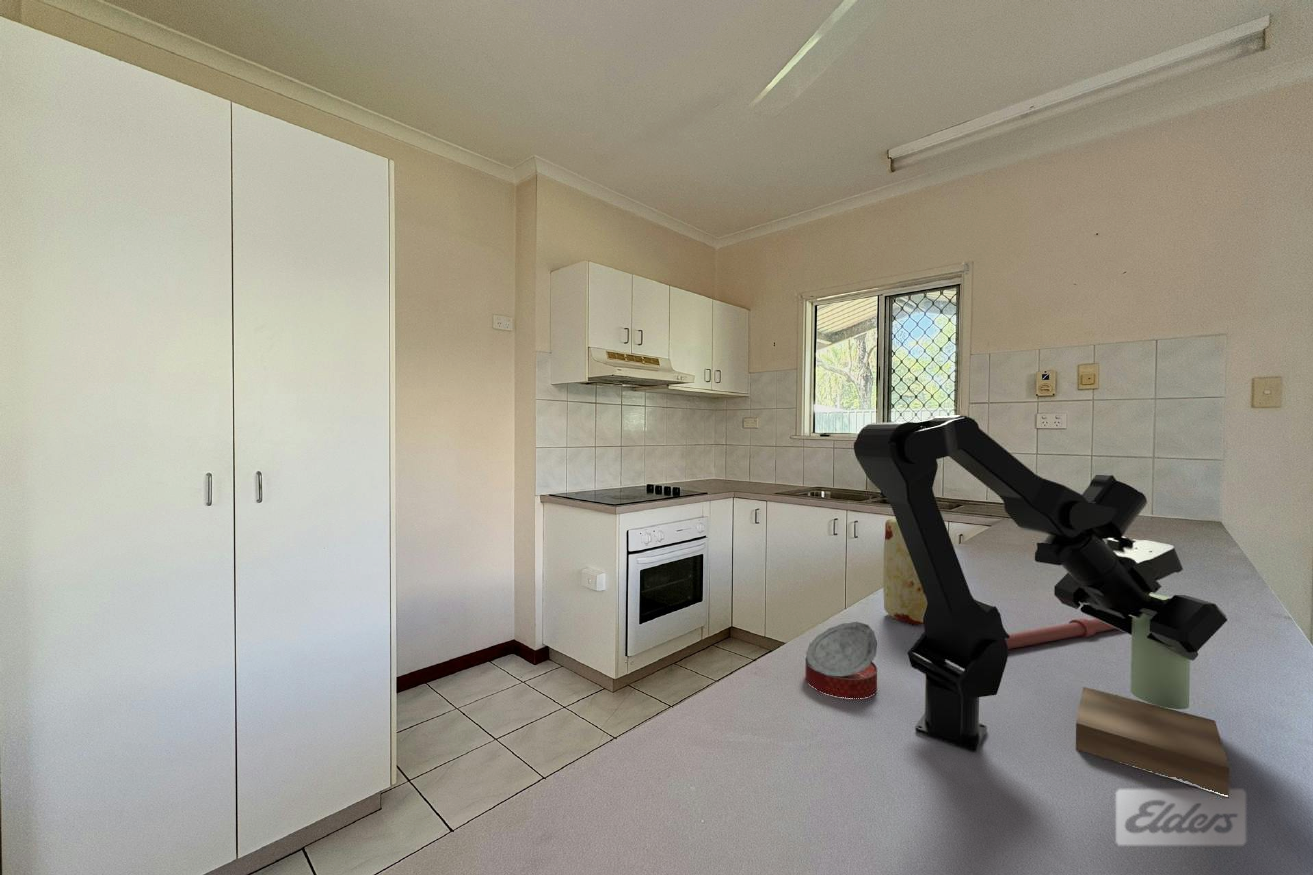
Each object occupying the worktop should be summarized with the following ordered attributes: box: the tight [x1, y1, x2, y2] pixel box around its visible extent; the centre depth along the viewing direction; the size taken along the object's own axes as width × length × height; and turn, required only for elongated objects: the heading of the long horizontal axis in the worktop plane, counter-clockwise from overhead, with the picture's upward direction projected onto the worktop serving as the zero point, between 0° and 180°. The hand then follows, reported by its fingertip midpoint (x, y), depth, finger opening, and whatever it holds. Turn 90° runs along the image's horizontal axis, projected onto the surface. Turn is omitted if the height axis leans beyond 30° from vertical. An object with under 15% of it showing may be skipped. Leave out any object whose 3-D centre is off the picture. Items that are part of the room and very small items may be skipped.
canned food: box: [804, 621, 878, 699], centre depth 76 cm, size 11×10×10 cm
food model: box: [882, 517, 927, 626], centre depth 102 cm, size 10×7×20 cm
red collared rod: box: [1005, 618, 1118, 650], centre depth 94 cm, size 45×3×3 cm, turn 111°
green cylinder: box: [1129, 593, 1191, 710], centre depth 69 cm, size 6×6×13 cm
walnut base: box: [1075, 686, 1231, 797], centre depth 61 cm, size 12×12×3 cm
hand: (1170, 647), depth 69 cm, fingers closed on green cylinder, 6 cm apart
